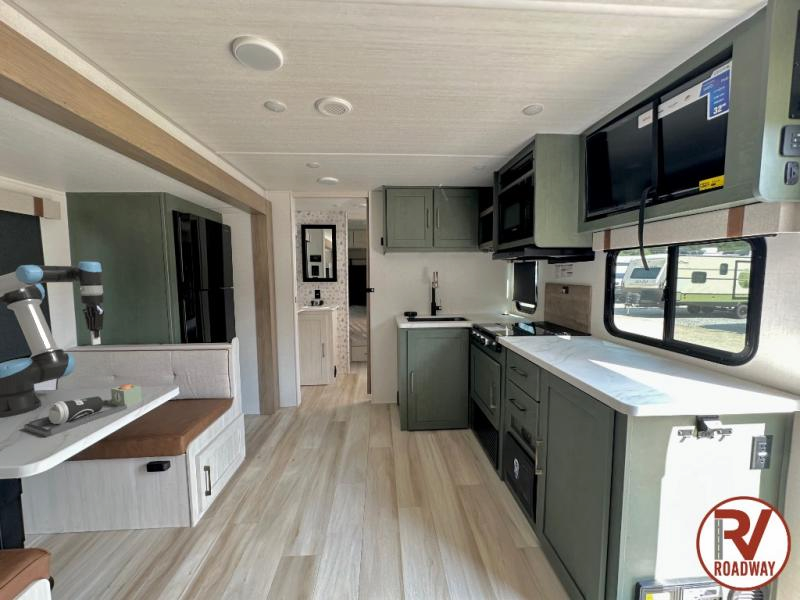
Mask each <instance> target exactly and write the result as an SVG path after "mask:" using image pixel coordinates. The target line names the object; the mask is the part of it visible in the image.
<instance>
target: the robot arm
mask: <svg viewBox="0 0 800 600" xmlns="http://www.w3.org/2000/svg"><path fill="white" fill-rule="evenodd" d="M43 283H79V286H80V288H79V291H80V294H81V296H80V299H81V300H80V301H81V304H84V305H85V308H83V309H82V313H83V315H84V319H85V323H86V329H87V330H89V331H90V340H91V345H92V346H95V345H101V332H100V331H101V330H103V329H104V327H103V326H104V314H105V309H102V308H101V307H102V306H101V304H102V303H104V295H103V294H104V289H103V287H104V286H103V270H102V264H101V263H100V262H99V261H79V262H78V264H77V265H38V264H36V265H35V264H25V265H23V264H21V265H19V266H18V267H17V268H16V269H15V271H13V272H10V273H7V274H3V275H0V304H5V305H6V308H7V309H9V310H12V311H13V312H14V315H15V317H16V319H17V322H18V323H19V326H20V328H21V330H22V333H23V335H24V337H25V340H26V342H27V345H28V347H29V349H30V351H31V355H30V356H29V357H22V358H17V359H12V360H7V361H3V362H0V419H3V418H10V417H15V416H18V415H23V414H27V413H30V412H33V411H36V410H37V408H38V409H40V408H41V407H43V404H42V403H43V402H42V400H41V398H40V397H39V396H38V394H37V393H36V391H35V385H37V384H41V383H46V382H49V381H52V380H58V379H61V378H63V377H67V376H69V375H71V374H72V373H73V371H74V368H75V366H76V361H75V358H74V356H73V355H72V354H71V353H69V352H66V353H65V352H64V349H62V348H60V347H58V346H57V344H56V342H55V339H54V337H53V335H52V332H51V330H50V327H49V325H48V323H47V321H46V318H45V315H44V314H43V311H42V309H41V307H40V305H41V304H42V302H43V300H44V298H45V295H46V294H45V288H44V287H43V285H42V284H43ZM39 407H40V408H39Z"/></svg>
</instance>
